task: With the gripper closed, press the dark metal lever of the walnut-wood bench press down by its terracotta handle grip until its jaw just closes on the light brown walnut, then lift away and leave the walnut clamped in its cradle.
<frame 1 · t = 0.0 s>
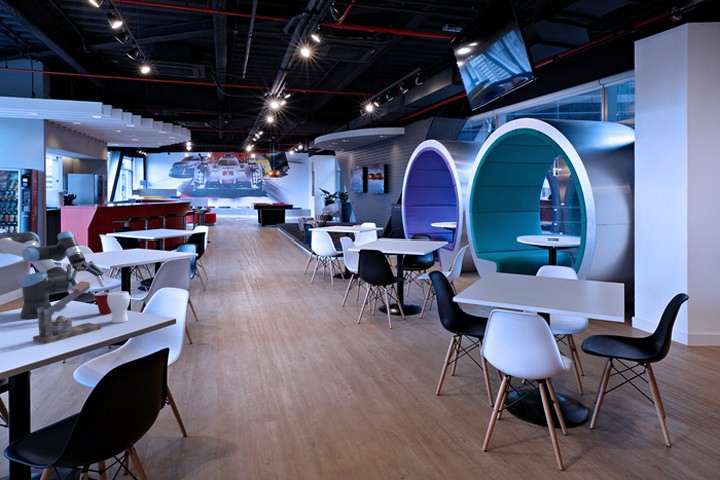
hand: (91, 288, 259), 15 cm above the table, tool tilted 35°, fingers open, 13 cm apart
press base: (68, 334, 226), on the table
plastic cup: (105, 313, 266), on the table
cup: (119, 321, 249), on the table
walnut: (60, 319, 222), point 8 cm above the table, touching press base
lever: (66, 299, 224), point 17 cm above the table, hinge at -25.0°
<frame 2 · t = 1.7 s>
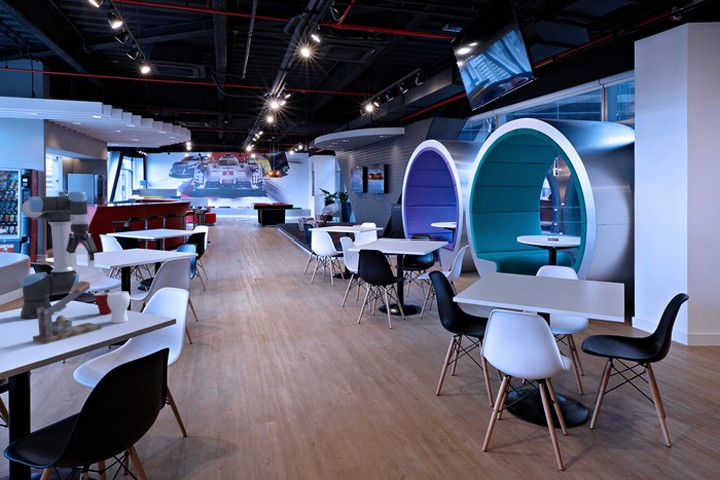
hand: (82, 266, 231), 31 cm above the table, tool pointing down, fingers open, 13 cm apart
nothing on the table moved.
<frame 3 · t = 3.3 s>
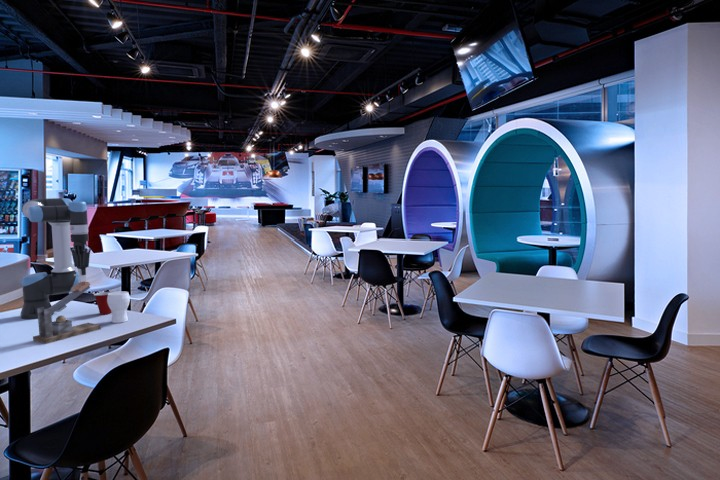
hand: (82, 281, 231), 24 cm above the table, tool pointing down, fingers closed
lever: (66, 299, 224), point 17 cm above the table, hinge at -25.0°, touching gripper
everything else where it was.
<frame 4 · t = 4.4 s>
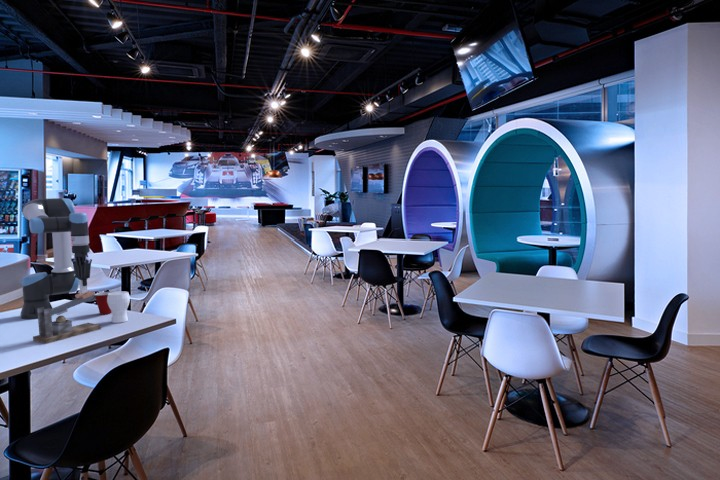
hand: (83, 292, 231), 19 cm above the table, tool pointing down, fingers closed
lever: (68, 304, 225), point 15 cm above the table, hinge at -11.2°, touching gripper
everything else where it was.
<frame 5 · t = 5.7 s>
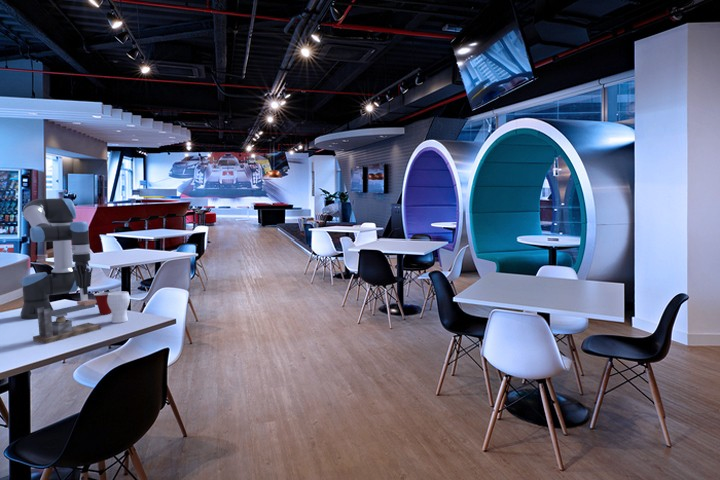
hand: (84, 300, 232), 15 cm above the table, tool pointing down, fingers closed
walnut: (60, 319, 222), point 8 cm above the table, touching lever, press base
lever: (69, 308, 226), point 12 cm above the table, hinge at 0.5°, touching gripper, walnut
everything else where it was.
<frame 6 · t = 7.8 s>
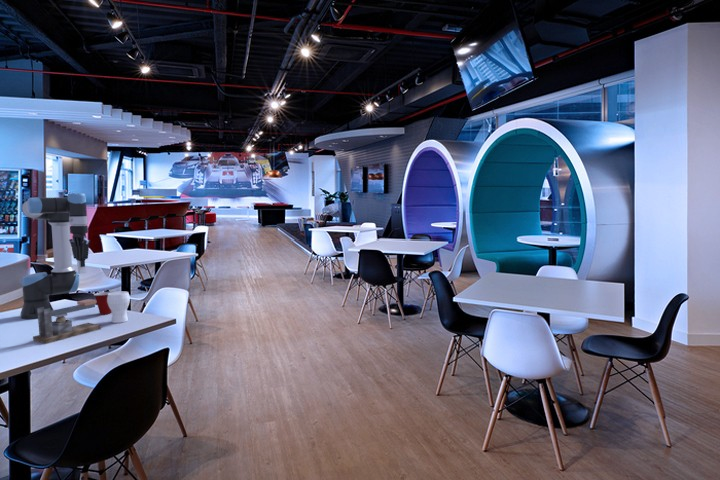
hand: (81, 273, 231), 28 cm above the table, tool pointing down, fingers closed
lever: (69, 308, 226), point 12 cm above the table, hinge at 0.5°, touching walnut
everything else where it was.
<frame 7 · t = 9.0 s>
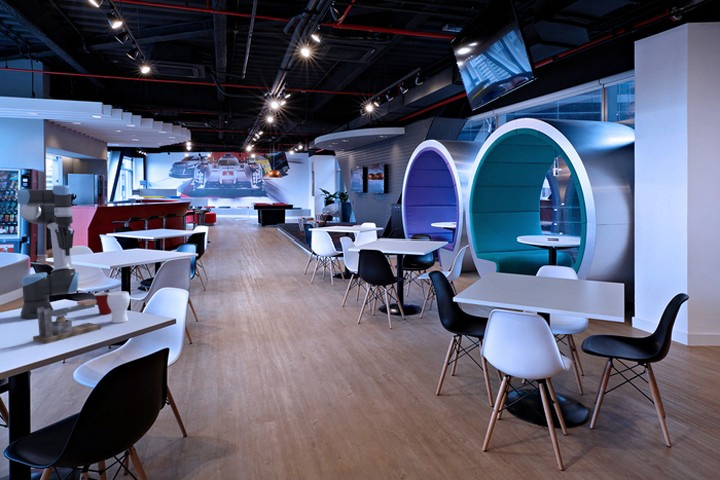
hand: (66, 262, 241), 32 cm above the table, tool pointing down, fingers closed
nothing on the table moved.
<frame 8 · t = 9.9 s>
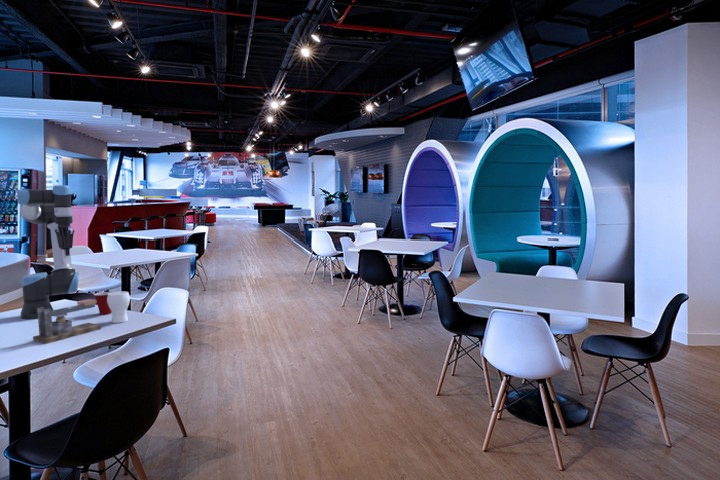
hand: (66, 262, 241), 32 cm above the table, tool pointing down, fingers closed
nothing on the table moved.
at the end: lever at +0° (first picture: -25°); walnut 0.0 cm from the target spot, point 8.0 cm above the table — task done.
